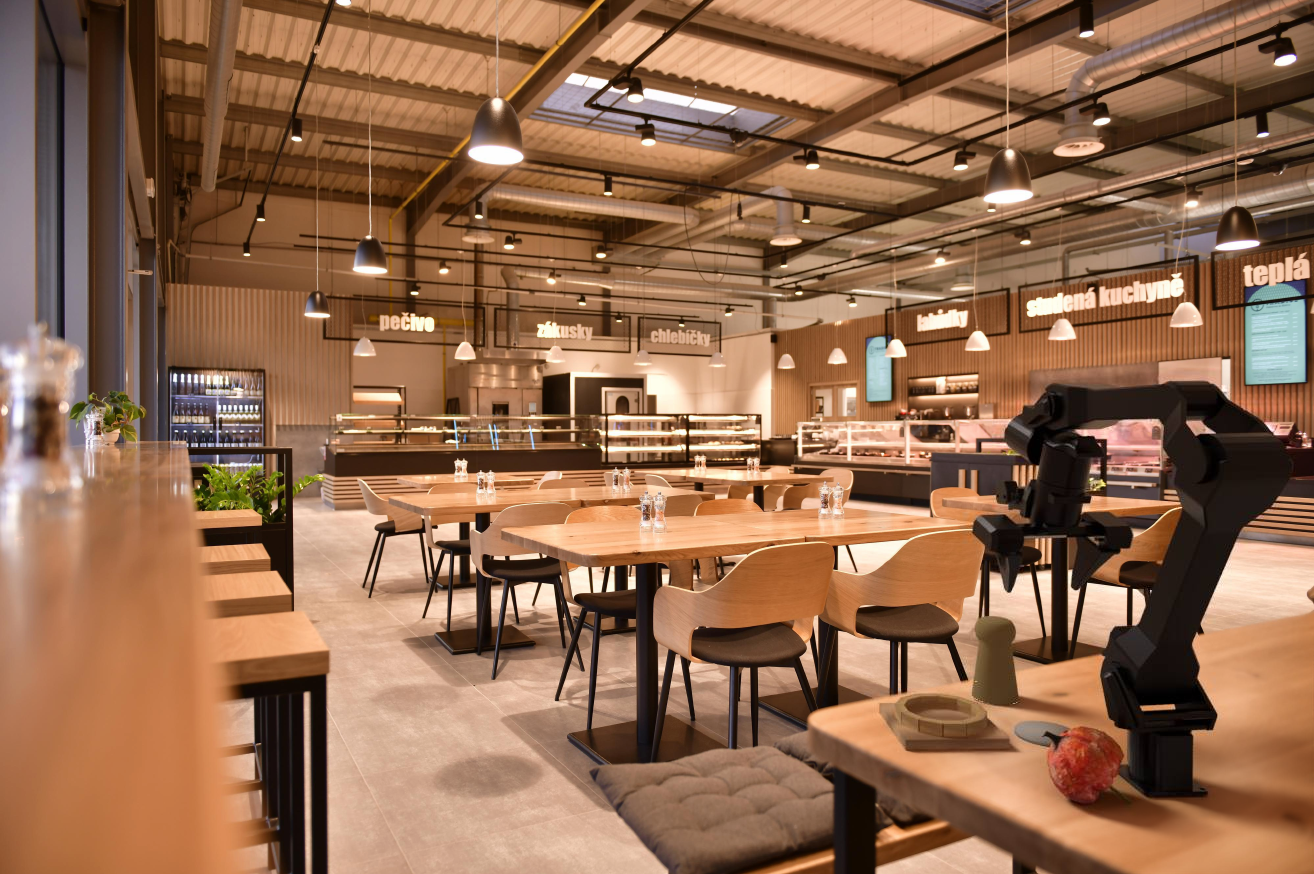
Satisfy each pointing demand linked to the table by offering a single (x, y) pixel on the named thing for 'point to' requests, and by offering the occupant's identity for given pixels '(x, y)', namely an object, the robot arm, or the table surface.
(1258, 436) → the robot arm
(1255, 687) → the table surface
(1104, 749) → the pomegranate
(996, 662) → the olive green peg
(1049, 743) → the grey coaster
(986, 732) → the hub board
